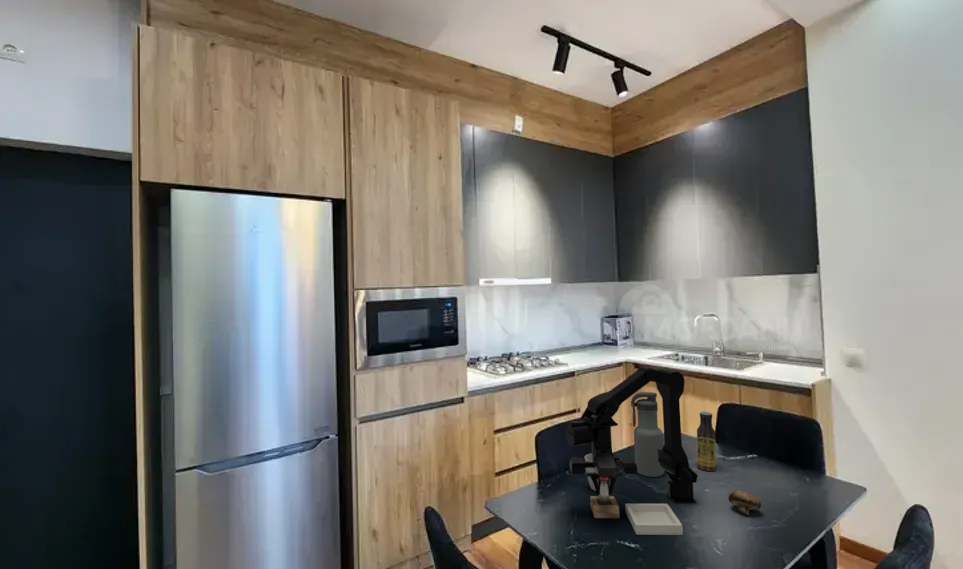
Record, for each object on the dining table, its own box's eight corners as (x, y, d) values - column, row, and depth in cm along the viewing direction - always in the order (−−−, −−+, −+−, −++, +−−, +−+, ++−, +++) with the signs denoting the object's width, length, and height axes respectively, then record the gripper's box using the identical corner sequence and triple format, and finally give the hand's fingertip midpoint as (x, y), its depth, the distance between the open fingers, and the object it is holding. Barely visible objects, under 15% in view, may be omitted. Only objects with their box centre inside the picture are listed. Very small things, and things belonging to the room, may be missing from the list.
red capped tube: (610, 505, 132) (608, 471, 132) (612, 512, 128) (611, 477, 128) (596, 505, 132) (594, 471, 132) (598, 511, 128) (597, 477, 128)
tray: (667, 512, 128) (667, 503, 128) (682, 535, 116) (682, 525, 116) (625, 512, 129) (625, 503, 129) (636, 534, 117) (635, 525, 117)
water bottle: (633, 475, 154) (629, 395, 155) (635, 465, 163) (631, 389, 164) (664, 479, 150) (661, 397, 151) (664, 468, 159) (661, 390, 160)
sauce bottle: (695, 470, 157) (693, 414, 158) (697, 463, 162) (695, 409, 163) (716, 473, 154) (714, 416, 154) (717, 467, 159) (715, 411, 159)
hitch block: (614, 506, 133) (613, 496, 133) (619, 518, 126) (619, 507, 126) (590, 506, 134) (590, 496, 134) (594, 517, 127) (594, 507, 127)
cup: (612, 494, 141) (611, 462, 141) (586, 492, 143) (585, 461, 143) (610, 483, 149) (608, 453, 149) (585, 482, 150) (584, 452, 151)
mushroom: (747, 510, 121) (746, 487, 125) (722, 510, 128) (721, 488, 131) (768, 520, 123) (766, 496, 126) (742, 519, 130) (741, 497, 133)
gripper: (572, 451, 123) (575, 507, 123) (641, 451, 121) (643, 508, 121) (568, 438, 134) (570, 490, 134) (631, 437, 133) (633, 490, 132)
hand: (603, 494), depth 130 cm, fingers closed on red capped tube, 3 cm apart
